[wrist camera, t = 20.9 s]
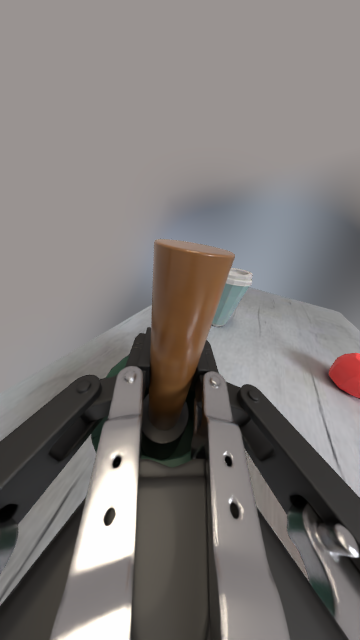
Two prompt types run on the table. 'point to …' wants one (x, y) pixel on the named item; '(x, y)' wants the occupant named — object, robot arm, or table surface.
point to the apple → (347, 373)
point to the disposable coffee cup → (232, 295)
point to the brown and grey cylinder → (179, 334)
